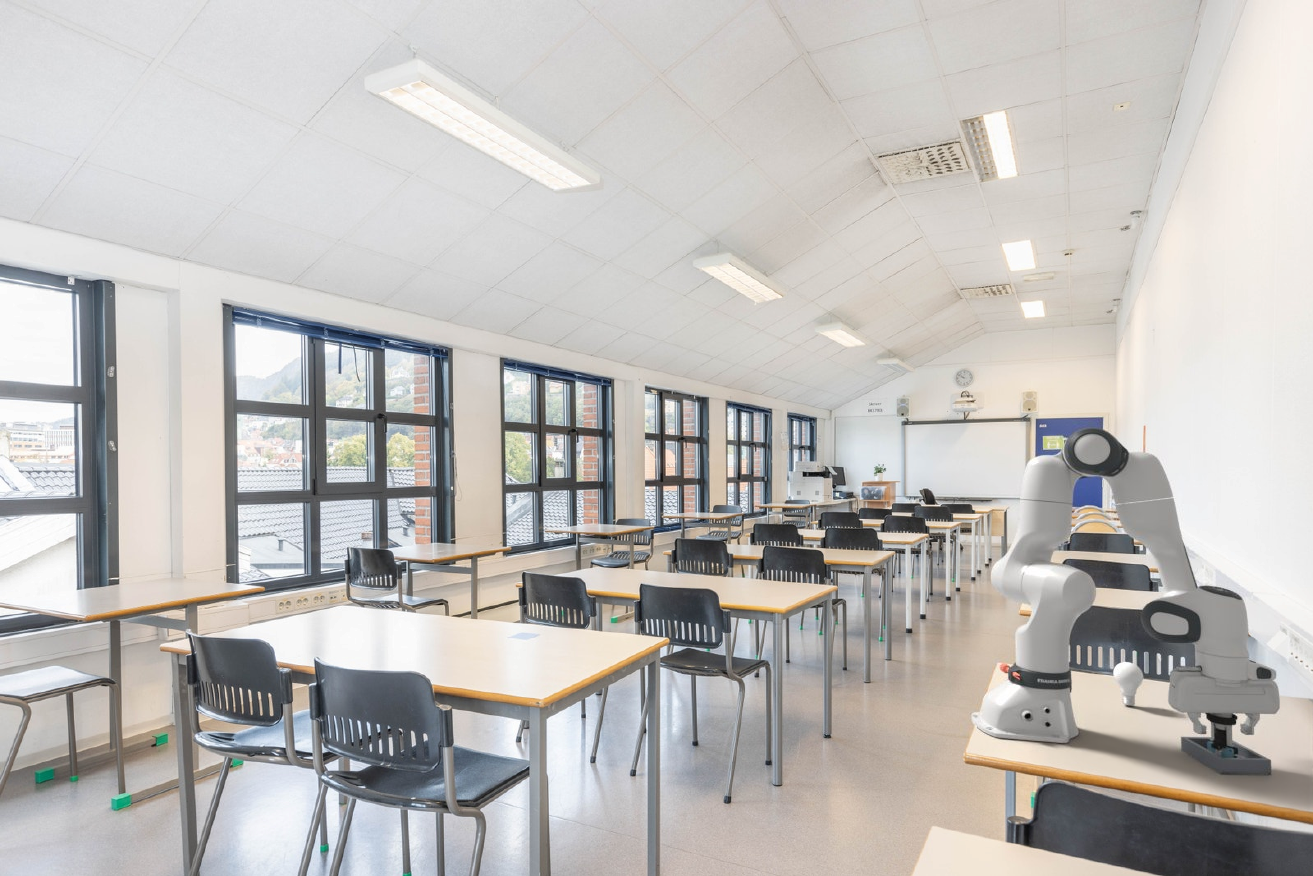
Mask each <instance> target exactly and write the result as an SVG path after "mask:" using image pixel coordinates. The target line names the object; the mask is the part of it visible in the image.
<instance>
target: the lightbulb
mask: <svg viewBox="0 0 1313 876" xmlns="http://www.w3.org/2000/svg"><path fill="white" fill-rule="evenodd" d="M1113 668H1114V669H1113V672H1112V673H1113V677H1114V680H1115V681H1116V683H1117V684H1118V685H1119V688H1120V691H1121V693H1122V703H1123V705H1125V706H1126V707H1130V708H1131V707H1133V706H1136V699H1135V698H1136V694H1137V690H1138V688H1139V687H1140V686H1141V685H1142V684H1143V681H1144V674H1143V671H1142V670H1141V668H1140V667H1139V666H1138V665H1137V664H1135V663H1132V662H1129V661H1122V662H1120V663H1117V664H1116V665H1115V666H1114V667H1113Z"/></svg>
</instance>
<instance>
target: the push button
mask: <svg viewBox="0 0 1313 876" xmlns="http://www.w3.org/2000/svg"><path fill="white" fill-rule="evenodd" d="M1204 714H1205V716H1206V718H1205V719H1207V720H1208V721H1209V722H1210V737H1211V738H1210V740H1212V741H1209V742H1207V749H1208V750H1209V751H1211V752H1213V753H1215V754H1216V755H1218V756H1220V757H1222V758H1237V756H1238V757H1241V758H1245V757H1243V756H1240V755H1238V748H1237V747H1233V746H1234V744H1232V740H1233V726H1235V725H1237V720H1238V715H1236V713H1204Z"/></svg>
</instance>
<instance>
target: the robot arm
mask: <svg viewBox="0 0 1313 876" xmlns="http://www.w3.org/2000/svg"><path fill="white" fill-rule="evenodd" d="M1092 477H1101V478H1103V479H1104V480H1105V481H1106V482H1107V483H1108V484H1109V486H1110V489H1111V491H1112V495H1113V500H1114V501H1113V502H1114V504H1115V510H1116V513H1117V517H1118V521H1119V522H1120V525H1121V527H1122V529H1123V531H1124V532H1125V533H1126V535H1128V536H1129V537H1130V538H1132V539H1133V540H1135V541H1138V542H1139V543H1140V544H1142V545H1143V546H1144V547H1145V548H1147V550H1148V551H1149V552H1150V554H1151V555H1152V557H1153V559H1154V561H1155V565H1156V568H1157V572H1158V576H1159V578H1160V582H1161V585H1162V588H1163V589H1162V590H1163V594H1162V597H1159V598H1156V599H1154V600H1152V601H1150V602H1147V604H1145V606H1144V607H1143V608H1142V610H1141V614H1140V622H1141V625H1142V627H1143V629H1144V630H1145V632H1146V633H1147V634H1148V636H1150V638H1153V639H1154V640H1157V641H1158V642H1161V643H1166V644H1192V645H1194V659H1195V663H1194V665H1187V666H1185V665H1177V666H1176V667H1175V668H1173V669H1172V670H1171V671H1170V672H1169V686H1168V695H1167V696H1168V697H1167V701H1168V702H1167V703H1168V705H1169V706H1170V707H1171V708H1172V709H1173V710H1176V711H1177V712H1180V713H1183V714H1184V713H1185V714H1186V715H1187V716H1188V718H1189V719H1190V721H1191V723H1192V725H1193V726H1192V727H1193V732H1194V733H1196V734H1197V735H1207V725H1204V724H1203V723H1202V722H1201V721H1200V719H1201V717H1202V714H1205V713H1232V714H1235V715H1236V714H1238V715H1239V714H1244V715H1245V716H1246V719H1245V721H1244V723H1240V725H1239V726H1240V731H1239V732H1240V733H1241V734H1243V735H1245V736H1254V735H1255V727H1256V725H1257V724H1258V722H1260V720H1261V715H1275V714H1277V713H1278V711H1279V710H1280V707H1281V706H1280V705H1281V699H1280V698H1281V697H1280V692H1279V686H1278V683H1277V682H1275V681H1274V680H1276V679H1277V671H1276V670H1275V669H1273V668H1272V667H1269V666H1267V665H1264V664H1261V663H1258V662H1256V661H1254V660H1250V653H1249V650H1248V648H1247V640H1248V638H1249V621H1248V613H1247V607H1246V604H1245V600H1244V599H1243V598H1242V596H1241V595H1240V594H1239V593H1237V592H1235V591H1233V590H1230V589H1228V588H1224V587H1220V586H1217V585H1216V586H1215V585H1214V586H1213V585H1206V584H1205V585H1199V586H1198V584H1197V581H1196V578H1195V575H1194V572H1193V567H1192V564H1191V561H1190V559H1189V555H1188V552H1187V548H1186V546H1185V543H1184V540H1183V537H1182V532H1181V528H1180V523H1179V517H1178V512H1177V507H1176V502H1175V498H1174V495H1173V491H1172V487H1171V484H1170V481H1169V478H1168V476H1167V474H1166V472H1165V469H1164V467H1163V465H1162V463H1161V461H1160V459H1159V458H1158V457H1157V456H1155V454H1152V453H1149V452H1144V451H1133V452H1130V451H1129V450H1128V449H1127V448H1126V447H1125V446H1124V445H1123V444H1122V443H1121V442H1120V441H1119V440H1118V439H1117V438H1116V437H1115V436H1114V434H1111V433H1110V432H1109V431H1107V430H1105V429H1102V428H1100V427H1096V426H1094V427H1091V426H1090V427H1089V426H1087V427H1084V428H1080V429H1078V430H1075V431H1074V432H1073V433H1071V434H1070V435H1069V436H1068V437H1067V439H1066V440H1065V442H1064V444H1063V446H1062V448H1061V450H1060V451H1059V452H1058V453H1057V454H1053V455H1052V454H1043V455H1042V454H1041V455H1038V456H1035V457H1033V458H1031V459H1030V460H1029V461H1028V462H1027V463H1026V465H1025V469H1024V473H1023V476H1022V481H1021V487H1020V494H1019V495H1020V496H1019V499H1020V500H1019V507H1018V516H1017V526H1016V532H1015V536H1014V539H1013V541H1012V543H1011V545H1010V547H1009V549H1008V550H1007V552H1006V553H1005V554H1004V556H1002V557H1001V558H1000V559H998V560H997V561H996V562H995V563H994V565H993V567H992V568H991V572H990V581H991V586H992V588H994V590H995V591H996V592H997V593H998V594H999V595H1001V596H1003V597H1005V598H1006V599H1008V600H1010V601H1011V602H1016V603H1019V604H1024V605H1027V606H1031V613H1030V617H1029V619H1028V621H1027V622H1026V623H1023V624H1021V625H1020V626H1018V628H1017V629H1016V630H1015V633H1014V634H1015V635H1014V638H1015V641H1014V642H1015V644H1014V645H1015V662H1014V663H1013V664H1012V665H1011V666H1010V665H1008V664H1007V663H1005V662H1003V663H1001V664H1000V665H999V670H1000V671H1001V672H1003V673H1004V674H1007V679H1006V680H1005V681H1003V682H1001V683H1000V684H999V685H997V686H995V688H993V689H991V690H990V691H988V692H986V693H985V695H984V697H983V699H982V702H981V709H980V711H975V712H972V714H971V717H970V719H971V722H972V723H973V725H975V727H977V728H978V729H979V730H980V731H982V732H984V733H985V734H987V735H989V736H992V737H995V738H1000V739H1011V740H1022V741H1023V740H1024V741H1033V742H1034V741H1036V742H1047V743H1060V744H1067V743H1069V742H1070V739H1073V738H1075V737H1077V736H1078V735H1079V729H1078V727H1077V726H1078V725H1077V723H1076V720H1075V719H1076V718H1075V716H1074V710H1073V704H1072V703H1073V702H1072V696H1071V693H1072V689H1073V688H1072V685H1073V680H1072V669H1070V638H1071V634H1072V633H1071V632H1072V630H1073V627H1074V625H1075V623H1076V621H1077V619H1078V618H1079V617H1080V616H1081V615H1083V614H1084V613H1085V612H1087V611H1088V610H1089V609H1091V607H1092V605H1093V604H1094V603H1095V600H1096V597H1097V596H1096V595H1097V588H1096V584H1095V581H1094V580H1093V577H1092V576H1091V575H1090V574H1089V573H1087V572H1085V571H1084V570H1082V569H1079V568H1076V567H1074V566H1072V565H1069V564H1064V563H1059V562H1058V563H1057V562H1054V561H1053V562H1052V557H1053V555H1054V552H1055V550H1056V549H1057V548H1058V546H1060V545H1061V544H1064V543H1066V542H1067V541H1068V540H1069V539H1070V537H1071V534H1072V521H1073V520H1072V519H1073V517H1072V516H1073V503H1074V502H1073V501H1074V489H1075V486H1076V483H1077V482H1078V480H1081V479H1087V478H1092ZM979 714H980V718H979Z"/></svg>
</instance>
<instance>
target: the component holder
mask: <svg viewBox="0 0 1313 876" xmlns="http://www.w3.org/2000/svg"><path fill="white" fill-rule="evenodd" d="M1210 738H1211V736H1180V744H1181V745H1180V748H1181V749H1180V750H1181V752H1183V753H1184V754H1186V755H1188V756H1189V757H1191V758H1193V759H1194V760H1196V761H1198V762H1200V763H1201V764H1203V765H1204V766H1206V767H1208V768H1210V769H1211V770H1213V771H1215V772H1216V773H1217V774H1218V773H1219V774H1220V775H1225V776H1226V775H1229V776H1230V775H1231V776H1232V775H1233V776H1234V775H1235V776H1237V775H1238V776H1272V759H1270V758H1267V757H1266V756H1264V755H1261V754H1260V753H1258V752H1256V751H1254V750H1253V749H1250V748H1249V747H1246V746H1245V745H1243V744H1240V743H1238V742H1237V741H1235V740H1233V739H1232V744H1234V746H1233V747H1237V748H1238V755H1240V756H1243V757H1245V758H1241V757H1238V756H1237V758H1222V757H1220V756H1218V755H1216V754H1215V753H1213V752H1211V751H1209V750H1208V749H1207V742H1209V741H1212V740H1210Z"/></svg>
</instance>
